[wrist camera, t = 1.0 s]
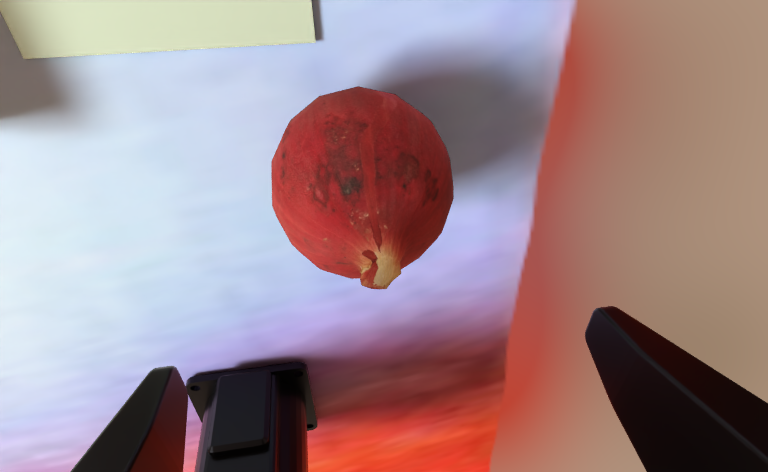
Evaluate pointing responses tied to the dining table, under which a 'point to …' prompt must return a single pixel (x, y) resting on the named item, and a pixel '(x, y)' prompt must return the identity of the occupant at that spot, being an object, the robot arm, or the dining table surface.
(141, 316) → the dining table surface
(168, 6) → the arena
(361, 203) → the onion
